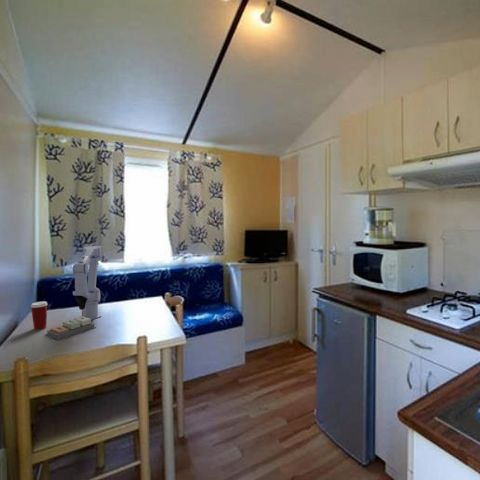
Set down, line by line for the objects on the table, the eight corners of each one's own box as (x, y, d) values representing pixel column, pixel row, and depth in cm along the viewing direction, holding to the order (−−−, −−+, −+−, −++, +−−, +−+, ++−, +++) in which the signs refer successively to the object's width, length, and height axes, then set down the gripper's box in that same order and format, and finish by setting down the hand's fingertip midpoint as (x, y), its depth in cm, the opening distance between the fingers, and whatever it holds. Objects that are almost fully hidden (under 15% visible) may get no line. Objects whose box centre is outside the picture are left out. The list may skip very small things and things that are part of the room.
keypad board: (45, 334, 149) (44, 330, 149) (83, 323, 166) (83, 319, 166) (57, 340, 142) (57, 335, 142) (96, 327, 159) (96, 323, 159)
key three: (50, 332, 149) (50, 327, 149) (59, 330, 153) (59, 325, 153) (59, 336, 144) (59, 331, 144) (68, 333, 148) (68, 328, 148)
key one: (74, 322, 159) (73, 318, 159) (82, 320, 163) (82, 315, 163) (83, 325, 154) (82, 321, 154) (91, 323, 158) (91, 318, 158)
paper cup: (51, 326, 160) (50, 301, 159) (38, 331, 153) (37, 305, 152) (41, 325, 163) (40, 300, 162) (28, 329, 156) (26, 304, 155)
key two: (62, 326, 154) (62, 321, 154) (71, 323, 158) (71, 318, 158) (71, 329, 149) (71, 324, 149) (80, 326, 153) (80, 321, 153)
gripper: (66, 284, 158) (67, 308, 159) (81, 287, 150) (82, 313, 151) (79, 282, 164) (80, 305, 165) (94, 285, 156) (94, 309, 157)
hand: (82, 309), depth 158 cm, fingers closed
